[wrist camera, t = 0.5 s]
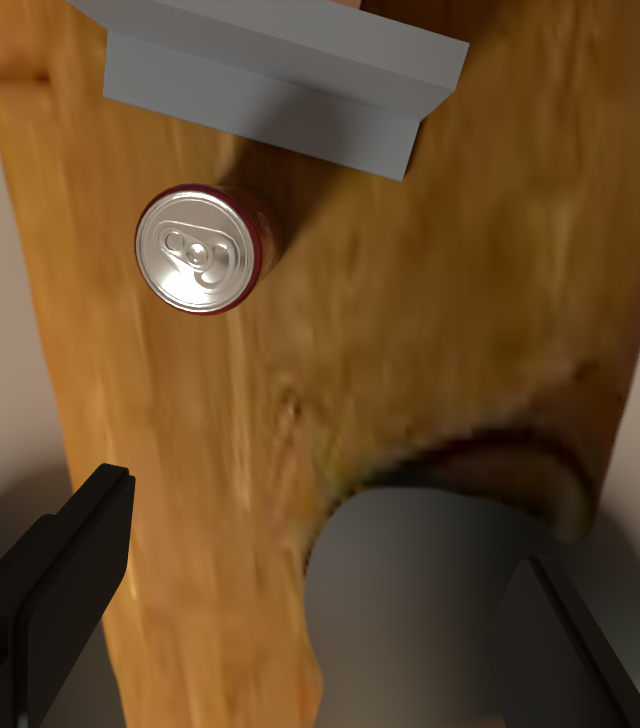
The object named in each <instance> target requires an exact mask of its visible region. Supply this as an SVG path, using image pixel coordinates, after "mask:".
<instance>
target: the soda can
mask: <svg viewBox="0 0 640 728" xmlns="http://www.w3.org/2000/svg"><path fill="white" fill-rule="evenodd" d="M283 245H284V231H283V226H282V223H281V219H280V217H279V215H278V213H277V211H276V210H275V208H274V207H273V206H272V204H271V203H270V202H269V201H268V200H267V199H266V198H264V197H263V196H262V195H260V194H258V193H257V192H255V191H253V190H250V189H247V188H243V187H234V186H221V185H208V184H194V183H192V184H181V185H177V186H174V187H171V188H168V189H166V190H165V191H163V192H161V193H159V194H158V195H156V196H155V197H154V198H153V199H152V200H151V201H150V202H149V203H148V204H147V206H146V207H145V209H144V210H143V212H142V213H141V215H140V218H139V220H138V223H137V225H136V230H135V236H134V253H135V257H136V262H137V266H138V268H139V270H140V273H141V275H142V277H143V279H144V280H145V282H146V284H147V285H148V287H149V288H150V289H151V290H152V291H153V292H154V294H155V295H156V296H157V297H158V298H160V299H161V300H162V301H164V302H165V303H166V304H167V305H169V306H171V307H173V308H175V309H177V310H179V311H182V312H185V313H188V314H192V315H200V316H208V315H217V314H220V313H224V312H227V311H229V310H231V309H233V308H235V307H237V306H238V305H239V304H240V303H241V302H243V301H244V300H245V299H246V298H247V297H248V296H249V295H250V294H251V293H252V291H253V290H254V289H255V288H256V287H257V286H258V285H259V284H260V283H261V281H262V280H263V279H264V278H265V277H266V276H267V275H268V274H269V273H270V271H271V270H272V269H273V268H274V267H275V265H276V264H277V262H278V260H279V258H280V257H281V253H282V250H283Z"/></svg>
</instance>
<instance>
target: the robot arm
mask: <svg viewBox="0 0 640 728" xmlns="http://www.w3.org/2000/svg"><path fill="white" fill-rule="evenodd" d="M135 481H136V479H135V477H134V476H131V475H129V470H128V468H125V467H120V466H115V465H111V464H106V463H103V464H101V465H100V466H99V467H98V468H97V469H96V470H95V471H94V472H93V474H92V475H91V476H90V477H89V478H88V479H87V480H86V481H85V483H84V484H83V485H82V486H81V487H80V488H79V489H78V490H77V492H76V493H75V494H74V495H73V496H72V497H71V498H70V499H69V501H68V502H67V503H66V504H65V505H64V506H63V507H62V508H61V510H60V511H59V512H58V513H57V514H56V515H51V514H45V515H43V516H41V517H40V518H39V519H38V520H37V521H36V522H35V523H34V524H33V525H32V526H31V527H30V528H29V530H27V531H26V533H25V534H24V535H23V536H22V537H21V538H20V539H19V540H18V541H17V542H16V543H15V544H14V545H13V546H12V548H11V549H10V550H9V551H8V552H7V553H6V554H5V555H4V556H3V557H2V558H1V559H0V728H39V726H40V725H41V723H42V721H43V719H44V718H45V716H46V714H47V712H48V710H49V708H50V707H51V705H52V703H53V702H54V700H55V698H56V696H57V694H58V693H59V691H60V689H61V687H62V686H63V684H64V682H65V680H66V679H67V677H68V675H69V673H70V672H71V670H72V668H73V666H74V664H75V663H76V661H77V659H78V657H79V656H80V654H81V652H82V650H83V648H84V647H85V645H86V643H87V641H88V640H89V638H90V636H91V634H92V633H93V631H94V629H95V627H96V625H97V624H98V622H99V620H100V618H101V617H102V615H103V613H104V611H105V610H106V608H107V606H108V604H109V602H110V601H111V599H112V597H113V595H114V594H115V592H116V590H117V588H118V587H119V585H120V583H121V581H122V579H123V577H124V574H125V571H126V567H127V561H128V551H129V541H130V531H131V521H132V512H133V502H134V492H135ZM482 649H483V655H484V659H485V662H486V665H487V668H488V671H489V674H490V678H491V681H492V684H493V687H494V690H495V693H496V696H497V700H498V703H499V706H500V709H501V713H502V716H503V719H504V722H505V725H506V728H640V693H639V692H638V690H637V689H636V687H635V685H634V684H633V682H632V680H631V679H630V677H629V675H628V674H627V672H626V670H625V669H624V667H623V665H622V664H621V662H620V661H619V659H618V657H617V656H616V654H615V652H614V651H613V649H612V647H611V646H610V644H609V643H608V641H607V639H606V637H605V636H604V634H603V632H602V631H601V629H600V628H599V626H598V624H597V623H596V621H595V620H594V618H593V616H592V614H591V613H590V611H589V609H588V608H587V606H586V604H585V603H584V601H583V600H582V598H581V596H580V595H579V593H578V591H577V590H576V588H575V586H574V585H573V583H572V581H571V580H570V578H569V576H568V575H567V573H566V571H565V570H564V568H563V567H562V565H561V563H560V562H559V561H558V560H556V559H552V558H548V557H543V556H539V555H530V556H528V558H527V559H523V560H521V561H520V563H519V565H518V567H517V569H516V571H515V573H514V575H513V577H512V579H511V581H510V583H509V585H508V587H507V590H506V592H505V594H504V596H503V598H502V600H501V602H500V604H499V606H498V609H497V610H496V612H495V615H494V617H493V619H492V621H491V623H490V625H489V627H488V629H487V631H486V633H485V635H484V638H483V642H482Z"/></svg>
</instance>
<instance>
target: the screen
mask: <svg viewBox="0 0 640 728" xmlns="http://www.w3.org/2000/svg"><path fill="white" fill-rule="evenodd" d="M66 1H67V2H69V3H70V4H71V5H73V6H74V7H76V8H77V9H78V10H80V11H81V12H83V13H84V14H85V15H87V16H88V17H90V18H91V19H93V20H94V21H95V22H97V23H98V24H100V25H101V26H102V27H104V28H105V29H107V30H108V38H107V51H106V63H105V75H104V87H103V96H104V97H106V98H108V99H111V100H114V101H118V102H121V103H125V104H128V105H132V106H135V107H139V108H142V109H146V110H149V111H153V112H156V113H160V114H163V115H167V116H170V117H174V118H177V119H181V120H185V121H188V122H192V123H195V124H199V125H202V126H206V127H209V128H213V129H216V130H220V131H223V132H227V133H230V134H234V135H237V136H241V137H244V138H248V139H251V140H255V141H258V142H262V143H265V144H269V145H272V146H276V147H279V148H283V149H286V150H290V151H293V152H297V153H300V154H304V155H307V156H311V157H314V158H318V159H322V160H325V161H329V162H332V163H336V164H339V165H343V166H346V167H350V168H353V169H357V170H360V171H364V172H367V173H371V174H374V175H378V176H381V177H385V178H388V179H392V180H395V181H399V182H402V180H403V177H404V173H405V170H406V167H407V163H408V160H409V157H410V153H411V150H412V147H413V144H414V140H415V137H416V134H417V130H418V127H419V124H420V121H422V120H423V119H424V118H425V117H426V116H427V115H428V114H429V113H430V112H431V111H433V110H434V109H435V108H436V107H437V106H438V105H439V104H440V103H441V102H443V101H444V100H445V99H446V98H447V97H448V96H449V95H450V94H451V93H453V92H454V91H455V88H456V85H457V82H458V79H459V76H460V73H461V70H462V67H463V63H464V60H465V57H466V54H467V51H468V48H469V45H470V43H467V42H463V41H460V40H457V39H454V38H450V37H447V36H444V35H440V34H437V33H434V32H431V31H427V30H424V29H421V28H417V27H414V26H411V25H407V24H404V23H401V22H398V21H394V20H391V19H388V18H384V17H381V16H378V15H375V14H371V13H368V12H365V11H361V10H358V9H355V8H351V7H348V6H345V5H342V4H338V3H335V2H332V1H328V0H66Z"/></svg>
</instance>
